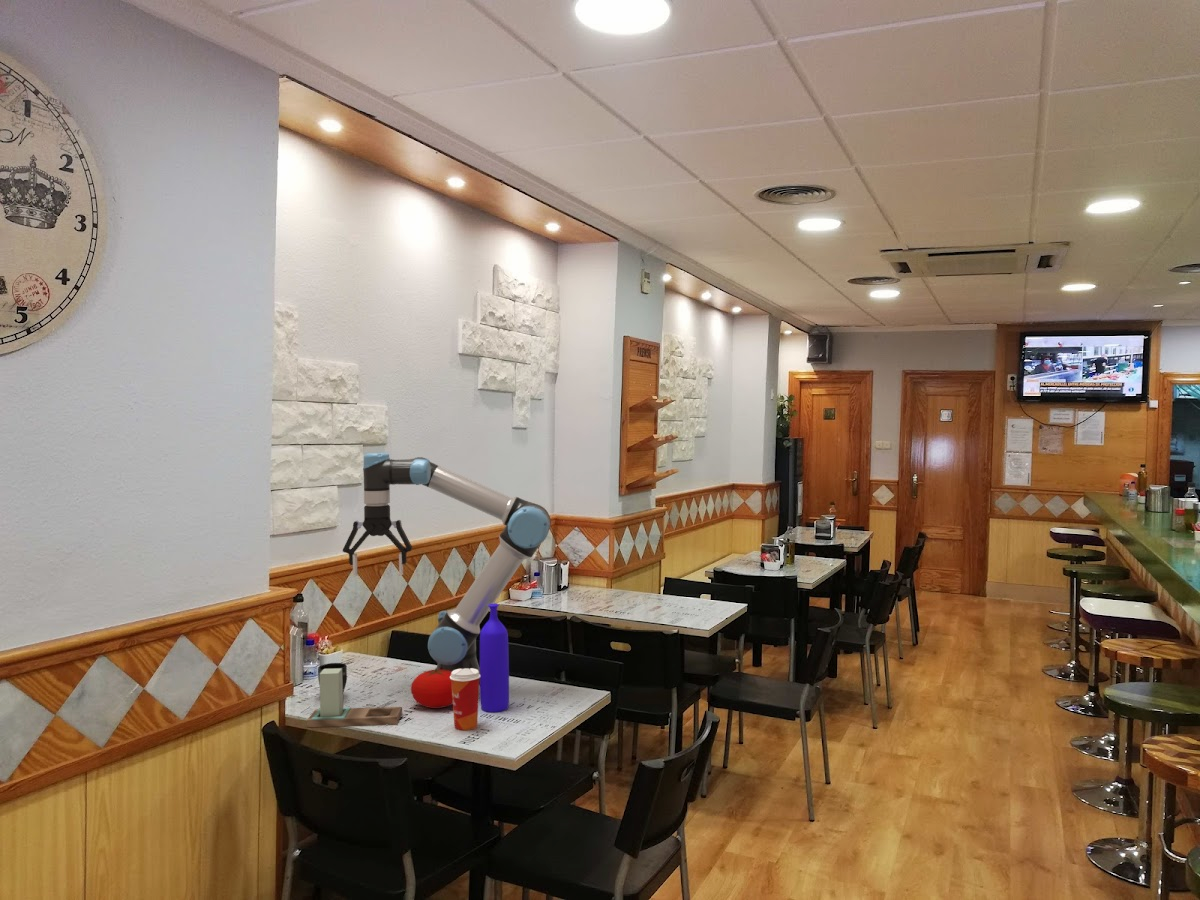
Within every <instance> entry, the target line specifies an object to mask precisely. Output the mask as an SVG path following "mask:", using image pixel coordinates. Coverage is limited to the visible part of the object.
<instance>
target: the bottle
mask: <svg viewBox="0 0 1200 900" xmlns="http://www.w3.org/2000/svg"><path fill="white" fill-rule="evenodd" d="M499 606H500V604H498V603H494V604H489V605H488V607H490V610H489V619H488V620H487V621H486V623H485V624H484V625H483V626H482V628H481V629H480V633H479V668H480V685H479V693H480V694H479V695H480V696H479V697H480V708H481V710H482V711H483V712H486V713H500V712H504V711H506V710H508V708H509V705H510V661H509V660H510V657H509V651H510V650H509V636H508V635H509V634H508V633H509V632H508V629H507V628H506V627H505V625H504V624H503V623H502V622H501V621H500V619H499V618H498V607H499Z"/></svg>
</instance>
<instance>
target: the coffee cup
mask: <svg viewBox="0 0 1200 900" xmlns="http://www.w3.org/2000/svg"><path fill="white" fill-rule="evenodd" d="M479 678H480V674H479V671H478V670H477V669H474V668H470V669H468V668H464V669H462V668H461V669H456V670H454V671H452V673H451V676H450V679H451V686H452V700H453V704H452V709H453V710H452V711H453V723H454V728H455V729H456V730H458V729H459V730H458V731H470V730H474V729H476V728H477V727H478V719H479V718H478V714H479V713H478V712H479V695H480V694H479V693H480V685H479Z"/></svg>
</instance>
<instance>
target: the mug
mask: <svg viewBox="0 0 1200 900" xmlns="http://www.w3.org/2000/svg"><path fill="white" fill-rule="evenodd" d="M334 668H342V681H343V694H344V693H345V692H344V691H345V689H346V687H347V686H346V685H347V683H348V682H347V681H348V680H347V679H348V672H347V671H348V669H347V664H345V663H343V662H342V663H341V662H330V663H329V662H328V663H324V664H322V665H319V666H318V668H317V677H318V679H317V680H318V684H319V686H320V673H321V672H322V670H323V669H334Z"/></svg>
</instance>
